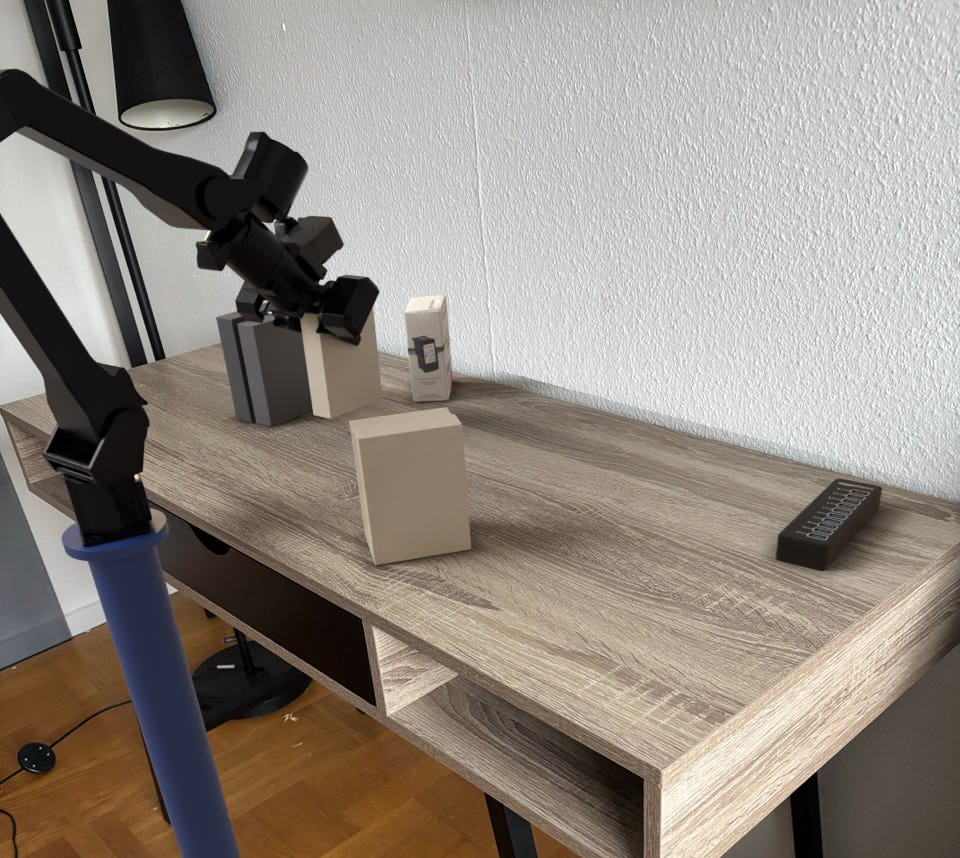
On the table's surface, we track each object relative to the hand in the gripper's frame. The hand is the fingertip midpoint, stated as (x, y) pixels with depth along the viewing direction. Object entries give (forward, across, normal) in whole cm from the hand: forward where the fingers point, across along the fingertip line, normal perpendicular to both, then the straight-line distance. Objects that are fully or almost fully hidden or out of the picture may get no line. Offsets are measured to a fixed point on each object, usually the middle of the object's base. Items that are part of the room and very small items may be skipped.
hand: (348, 340), depth 112 cm
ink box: (+18, 0, -3) cm, 18 cm away
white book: (+4, 0, +6) cm, 8 cm away
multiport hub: (+8, -59, +8) cm, 60 cm away
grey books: (+6, +13, +8) cm, 17 cm away
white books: (-7, -28, +22) cm, 37 cm away
